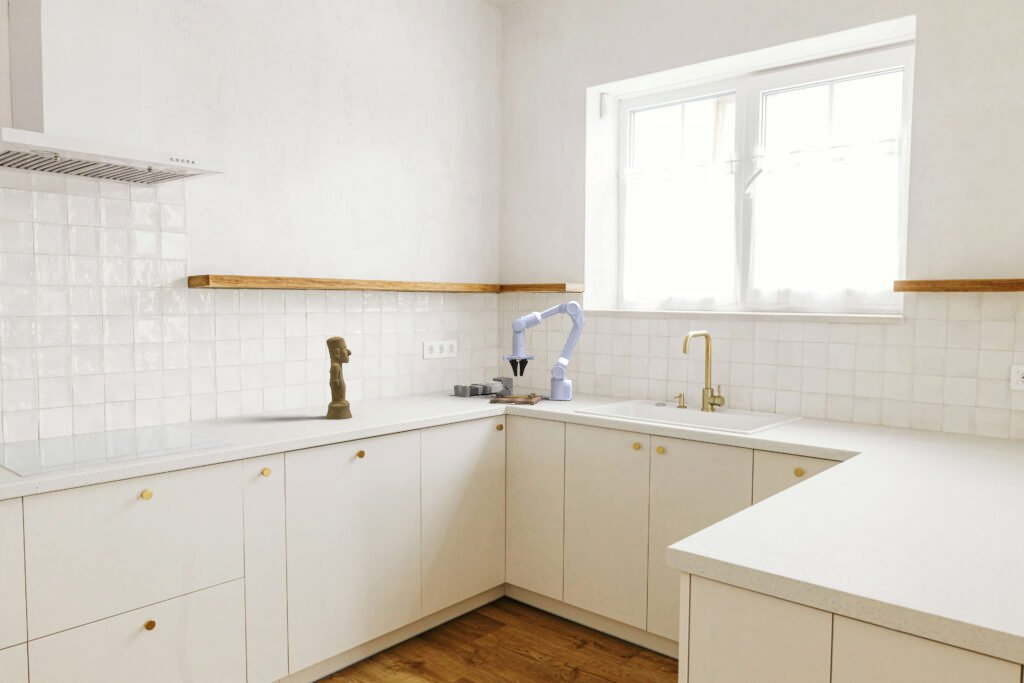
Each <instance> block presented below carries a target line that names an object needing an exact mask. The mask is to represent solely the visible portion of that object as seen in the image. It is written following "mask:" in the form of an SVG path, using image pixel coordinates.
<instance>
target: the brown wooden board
mask: <svg viewBox="0 0 1024 683" xmlns="http://www.w3.org/2000/svg"><path fill="white" fill-rule="evenodd" d="M513 395H515V394H514V393H513ZM526 395H527V396H528V398H506V396H507V395H501V391H500V392H498V393H495V397H493V398H491V399H489V403H490V404H496V403H515V404H514V405H521V404H530V405H529V406H534V404H535V405H536V404H537V403H540V402H541V401H542V400H543V399H544V396H543V395H540V394H536V392H530V394H526Z"/></svg>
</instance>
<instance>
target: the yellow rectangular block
mask: <svg viewBox="0 0 1024 683" xmlns="http://www.w3.org/2000/svg"><path fill="white" fill-rule="evenodd" d="M527 395H528V394H514V395H507V396H506V398H528V396H527Z"/></svg>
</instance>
